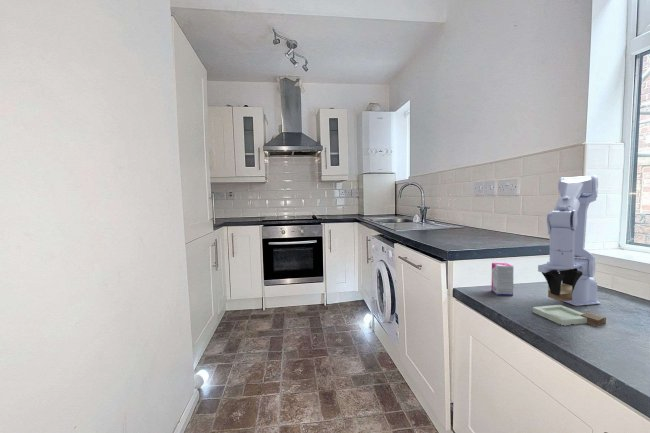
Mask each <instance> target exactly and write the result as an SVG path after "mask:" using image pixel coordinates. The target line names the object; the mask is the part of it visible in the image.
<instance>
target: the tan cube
mask: <svg viewBox="0 0 650 433" xmlns="http://www.w3.org/2000/svg"><path fill="white" fill-rule="evenodd" d="M547 285H548V284H547ZM547 289H548V290H547V294H548V295H547V297H548V298H550V299H554V300H555V301H559V302H564V301H570V300H572V286H571V285H567V284H564V283H561V287H560V294H559V295H554V294H551V292H550V288H549V285H548V286H547Z"/></svg>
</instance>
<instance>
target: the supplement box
mask: <svg viewBox="0 0 650 433" xmlns="http://www.w3.org/2000/svg"><path fill="white" fill-rule="evenodd" d="M491 292H492V293H494V294H495V295H496V296H508V297H509V296H510V297H511V296H512V297H513V296H514V266H513V265H512V264H509V263H507V262H492V263H491Z"/></svg>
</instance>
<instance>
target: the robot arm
mask: <svg viewBox="0 0 650 433" xmlns="http://www.w3.org/2000/svg"><path fill="white" fill-rule="evenodd" d="M557 184H558V193H559V195H560V196H559V197H560V198H558V199H557V201H556V203H555V205H554V207H553V210H552V211H551V212H548V213H547V214H546V225H547V233H548V235H549V260H548V261H547V262H546V263H543V264H538V265H537V272H540V273H541V274H542V276H543V277H544V278H545V281H546V283H547V285H549V288H550V292H551V294H554V295H559V294H560V287H561V283H564V284H567V285H571V286H572V300H570V301H563V302H565V303H567V304H569V305H573V306H576V307H579V306H588V305H589V306H590V305H600V304H601V302H600V301H599V300H598V283H597V281H596V279H595V278H593V277H594V276H595V274H596V257H595V256H594V254H593V253H591V252H590V251H589V250H587V249H585V246H586V245H585V244H586V235H587V234H586V231H587V218H588V210H589V209H588V208H589V205H590V204H591V203H593V202H595V201H597V198H598V194H599V192H598V191H599V177H598V176H597V175H596V174H592V175H584V176H569V177H566V176H565V177H563V176H562V177H560V178H559V179H558V183H557Z"/></svg>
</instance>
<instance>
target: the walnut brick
mask: <svg viewBox="0 0 650 433" xmlns="http://www.w3.org/2000/svg"><path fill="white" fill-rule="evenodd" d="M581 316H583V317H586V318H587V323H586V324H588V325H591V326H594V325H595V327H597V326H599V327H601V325H602V326H605V325H606V324H607V317H606V316H603V315H601V314H597V313H593V312H590V311H587V312H583V314H581Z"/></svg>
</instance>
